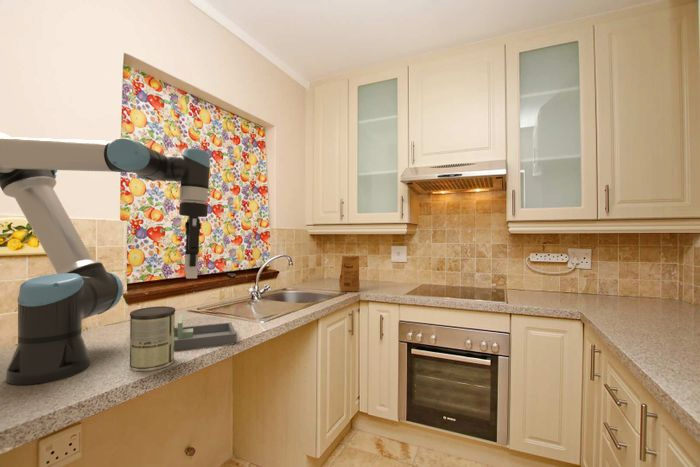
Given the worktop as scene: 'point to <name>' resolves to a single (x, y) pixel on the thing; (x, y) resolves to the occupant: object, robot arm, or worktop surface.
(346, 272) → the coffee package
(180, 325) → the pusher
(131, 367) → the coffee can
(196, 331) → the grey tray
